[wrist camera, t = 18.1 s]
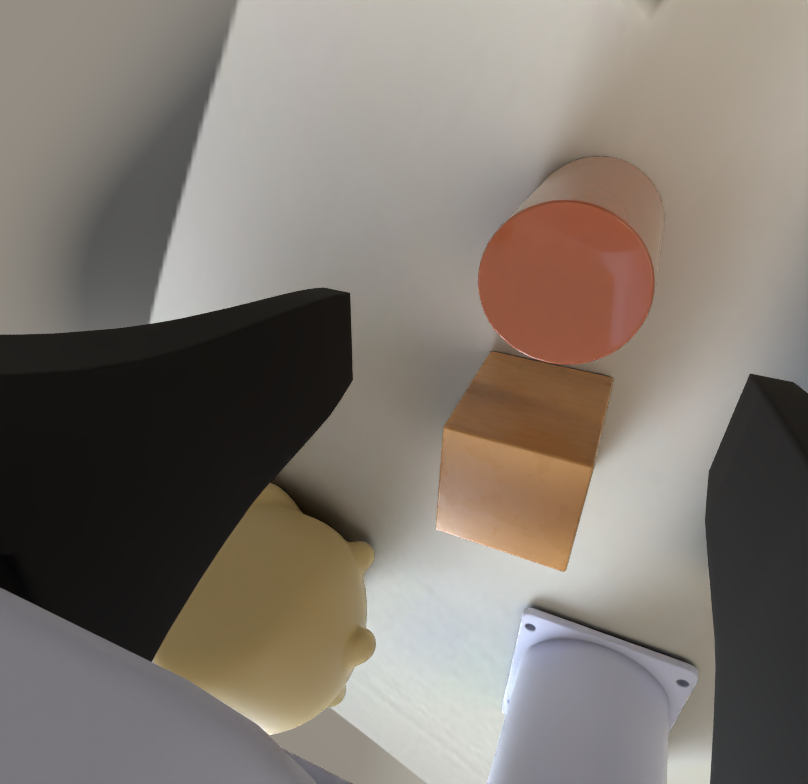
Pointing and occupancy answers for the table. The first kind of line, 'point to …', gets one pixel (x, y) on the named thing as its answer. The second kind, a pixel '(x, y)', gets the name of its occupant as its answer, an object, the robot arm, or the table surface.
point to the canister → (575, 263)
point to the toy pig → (275, 617)
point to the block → (522, 457)
